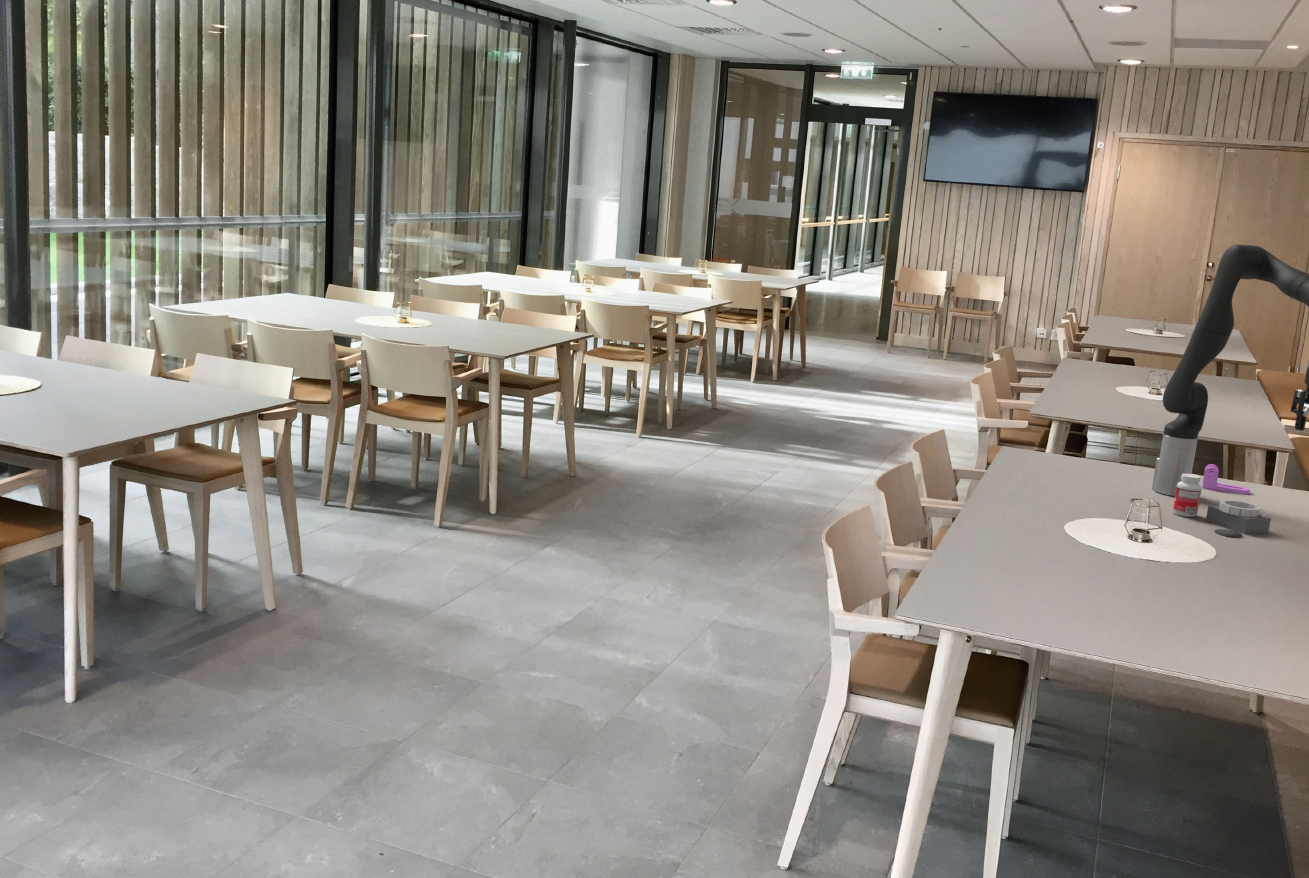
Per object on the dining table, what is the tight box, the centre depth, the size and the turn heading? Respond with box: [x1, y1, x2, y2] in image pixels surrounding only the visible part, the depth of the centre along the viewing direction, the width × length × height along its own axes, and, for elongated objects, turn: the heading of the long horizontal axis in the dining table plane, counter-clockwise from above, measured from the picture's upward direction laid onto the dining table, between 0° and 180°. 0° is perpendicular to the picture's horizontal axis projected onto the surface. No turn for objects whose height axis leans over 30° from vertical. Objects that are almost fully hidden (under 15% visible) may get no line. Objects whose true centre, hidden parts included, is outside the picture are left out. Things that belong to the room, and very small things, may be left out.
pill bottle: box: [1172, 473, 1203, 518], centre depth 307 cm, size 6×6×11 cm
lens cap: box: [1214, 528, 1243, 539], centre depth 291 cm, size 6×6×1 cm
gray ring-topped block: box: [1205, 499, 1272, 535], centre depth 299 cm, size 13×10×6 cm
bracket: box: [1201, 463, 1251, 495], centre depth 343 cm, size 13×6×7 cm, turn 64°
